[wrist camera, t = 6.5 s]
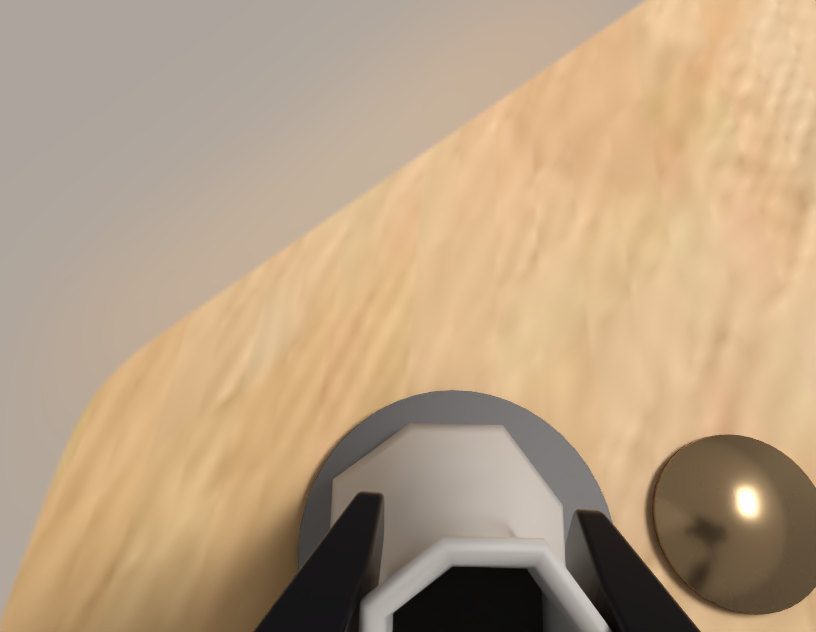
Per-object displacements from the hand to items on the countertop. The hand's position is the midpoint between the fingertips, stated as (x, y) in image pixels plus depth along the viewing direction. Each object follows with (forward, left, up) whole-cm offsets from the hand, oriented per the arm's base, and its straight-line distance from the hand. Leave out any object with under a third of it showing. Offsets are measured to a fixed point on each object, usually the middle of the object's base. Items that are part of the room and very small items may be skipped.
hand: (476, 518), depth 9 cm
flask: (-1, 0, -8) cm, 8 cm away
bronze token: (+2, -8, -8) cm, 12 cm away
